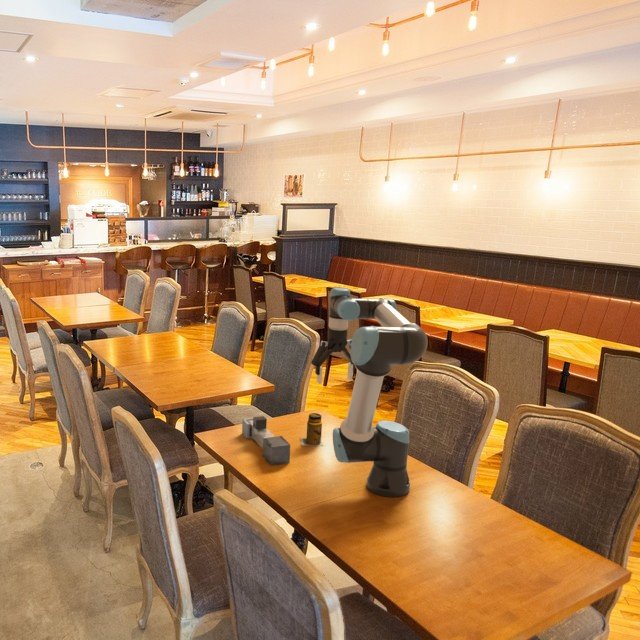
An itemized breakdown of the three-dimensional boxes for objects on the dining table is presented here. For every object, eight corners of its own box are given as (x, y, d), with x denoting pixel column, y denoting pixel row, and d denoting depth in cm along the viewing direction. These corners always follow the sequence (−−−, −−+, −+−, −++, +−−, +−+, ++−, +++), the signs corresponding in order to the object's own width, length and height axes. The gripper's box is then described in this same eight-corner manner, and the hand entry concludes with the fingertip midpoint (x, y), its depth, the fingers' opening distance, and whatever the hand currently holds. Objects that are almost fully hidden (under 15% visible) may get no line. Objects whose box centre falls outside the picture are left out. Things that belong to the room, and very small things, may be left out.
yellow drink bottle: (322, 446, 241) (324, 418, 239) (302, 446, 240) (303, 418, 238) (320, 438, 248) (322, 411, 246) (300, 438, 247) (301, 411, 245)
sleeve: (289, 463, 224) (290, 444, 222) (271, 465, 221) (271, 447, 219) (280, 453, 232) (281, 435, 230) (262, 456, 228) (263, 438, 227)
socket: (264, 436, 247) (265, 422, 246) (246, 439, 243) (247, 424, 242) (259, 431, 252) (259, 417, 251) (242, 433, 249) (242, 419, 247)
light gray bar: (277, 451, 230) (278, 430, 229) (266, 453, 228) (267, 431, 227) (257, 430, 250) (258, 410, 248) (247, 431, 248) (247, 412, 246)
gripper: (361, 324, 237) (357, 375, 241) (304, 327, 226) (301, 380, 230) (370, 328, 230) (366, 381, 235) (313, 331, 219) (309, 386, 223)
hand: (334, 381), depth 232 cm, fingers open, 13 cm apart
